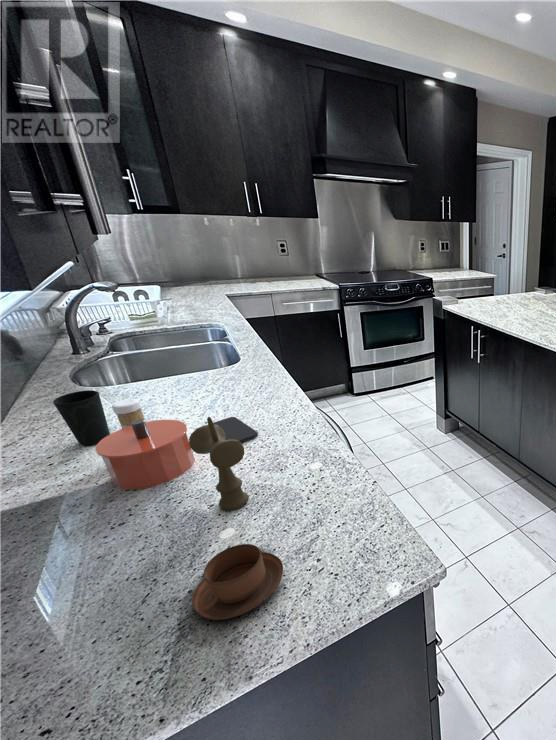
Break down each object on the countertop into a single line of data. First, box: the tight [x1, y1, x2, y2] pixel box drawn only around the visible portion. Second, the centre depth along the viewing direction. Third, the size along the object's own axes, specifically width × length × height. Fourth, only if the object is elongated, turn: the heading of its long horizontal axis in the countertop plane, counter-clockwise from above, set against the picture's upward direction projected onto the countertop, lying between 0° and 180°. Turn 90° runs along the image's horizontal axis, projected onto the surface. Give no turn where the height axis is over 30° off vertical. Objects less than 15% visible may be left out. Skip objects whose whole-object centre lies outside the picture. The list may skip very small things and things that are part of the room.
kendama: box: [188, 416, 250, 511], centre depth 78 cm, size 6×10×20 cm, turn 55°
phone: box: [213, 416, 259, 443], centre depth 106 cm, size 7×1×15 cm
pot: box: [101, 432, 196, 491], centre depth 87 cm, size 14×14×10 cm
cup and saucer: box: [191, 543, 284, 621], centre depth 63 cm, size 12×12×6 cm
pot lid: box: [94, 419, 188, 458], centre depth 84 cm, size 15×15×5 cm
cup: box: [52, 389, 111, 447], centre depth 98 cm, size 8×8×12 cm
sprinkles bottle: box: [111, 398, 147, 429], centre depth 94 cm, size 5×5×14 cm
